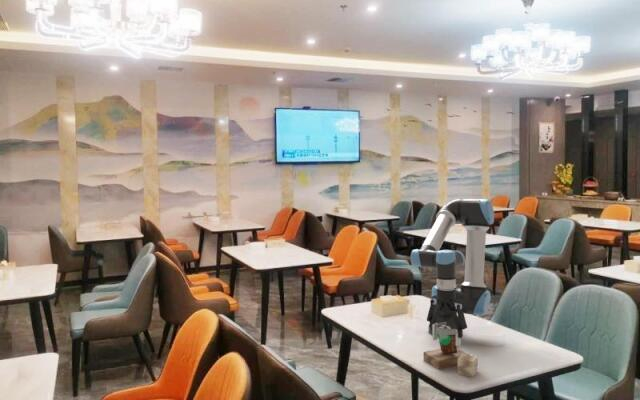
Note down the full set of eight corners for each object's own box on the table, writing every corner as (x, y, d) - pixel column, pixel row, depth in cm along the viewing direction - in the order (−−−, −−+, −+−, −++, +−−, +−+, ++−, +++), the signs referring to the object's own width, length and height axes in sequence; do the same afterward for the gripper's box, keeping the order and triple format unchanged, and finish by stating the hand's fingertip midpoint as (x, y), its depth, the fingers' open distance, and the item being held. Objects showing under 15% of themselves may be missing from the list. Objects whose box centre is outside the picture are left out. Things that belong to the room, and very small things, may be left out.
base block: (423, 361, 217) (423, 352, 217) (453, 355, 223) (453, 346, 222) (439, 370, 207) (439, 360, 206) (470, 364, 212) (470, 354, 212)
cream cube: (457, 374, 202) (457, 358, 202) (462, 368, 207) (462, 353, 207) (473, 377, 199) (473, 361, 199) (477, 371, 204) (477, 356, 204)
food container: (434, 346, 221) (431, 323, 220) (448, 344, 221) (446, 321, 221) (443, 355, 209) (440, 331, 208) (458, 354, 209) (455, 329, 209)
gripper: (417, 285, 218) (418, 338, 220) (466, 294, 202) (466, 351, 203) (427, 282, 224) (428, 333, 225) (476, 291, 207) (476, 346, 208)
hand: (446, 342), depth 214 cm, fingers closed on food container, 10 cm apart
